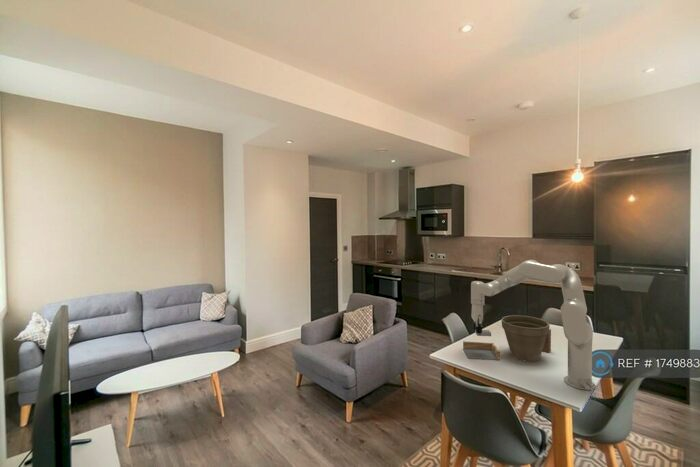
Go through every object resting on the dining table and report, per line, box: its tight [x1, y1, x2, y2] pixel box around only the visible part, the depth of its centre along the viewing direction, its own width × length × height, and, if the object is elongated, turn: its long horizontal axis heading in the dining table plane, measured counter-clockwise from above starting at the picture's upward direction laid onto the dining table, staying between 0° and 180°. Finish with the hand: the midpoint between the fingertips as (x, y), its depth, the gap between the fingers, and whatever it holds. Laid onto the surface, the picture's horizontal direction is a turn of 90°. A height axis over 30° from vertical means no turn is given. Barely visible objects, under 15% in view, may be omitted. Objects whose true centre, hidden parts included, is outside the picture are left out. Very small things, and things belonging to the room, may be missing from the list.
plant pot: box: [501, 314, 551, 363], centre depth 181 cm, size 25×25×22 cm
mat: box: [463, 349, 501, 361], centre depth 185 cm, size 14×18×1 cm
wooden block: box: [542, 328, 552, 353], centre depth 192 cm, size 4×11×18 cm, turn 36°
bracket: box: [474, 320, 492, 337], centre depth 184 cm, size 8×5×8 cm, turn 80°
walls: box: [462, 340, 501, 361], centre depth 185 cm, size 14×18×5 cm
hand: (477, 331), depth 185 cm, fingers closed on bracket, 5 cm apart
